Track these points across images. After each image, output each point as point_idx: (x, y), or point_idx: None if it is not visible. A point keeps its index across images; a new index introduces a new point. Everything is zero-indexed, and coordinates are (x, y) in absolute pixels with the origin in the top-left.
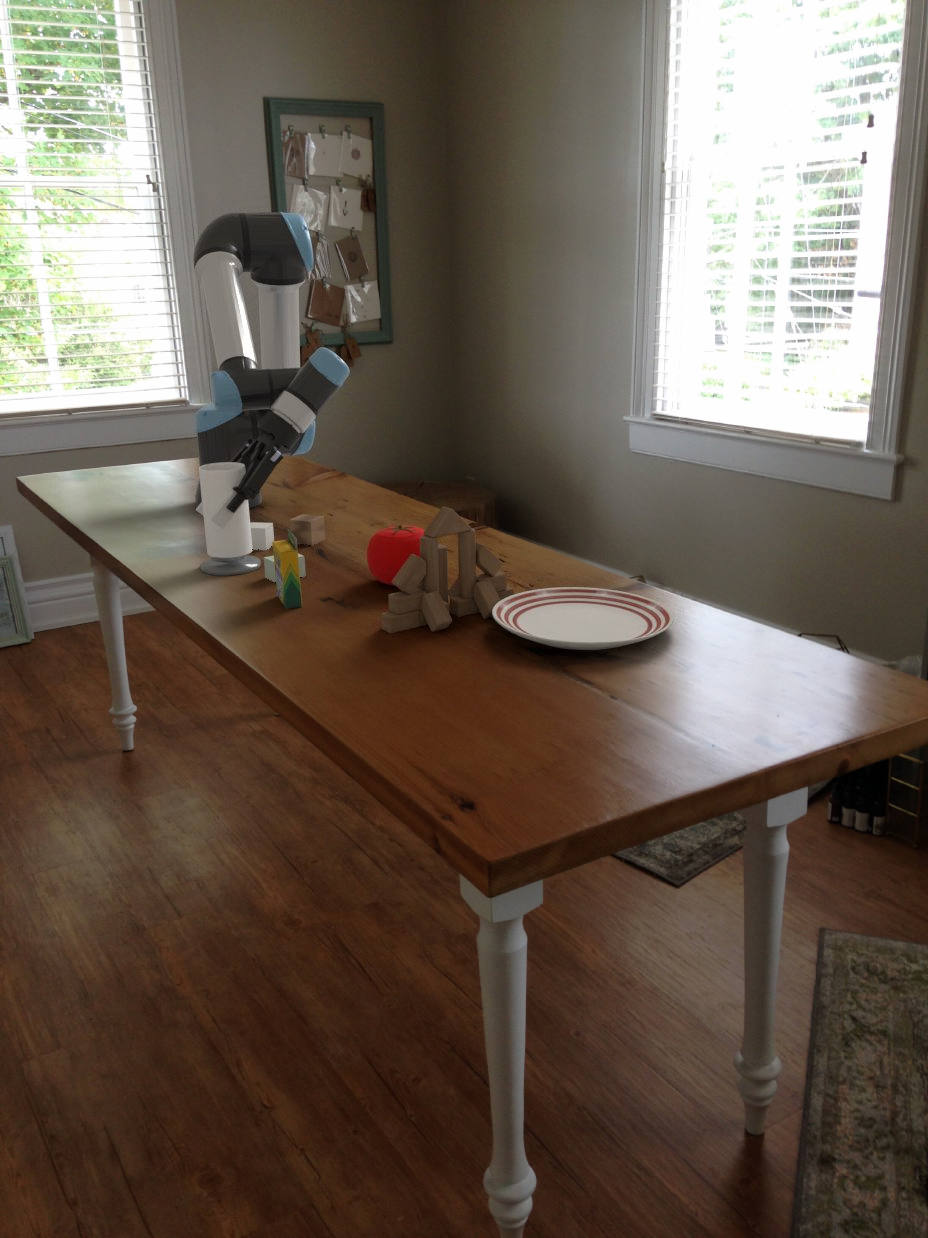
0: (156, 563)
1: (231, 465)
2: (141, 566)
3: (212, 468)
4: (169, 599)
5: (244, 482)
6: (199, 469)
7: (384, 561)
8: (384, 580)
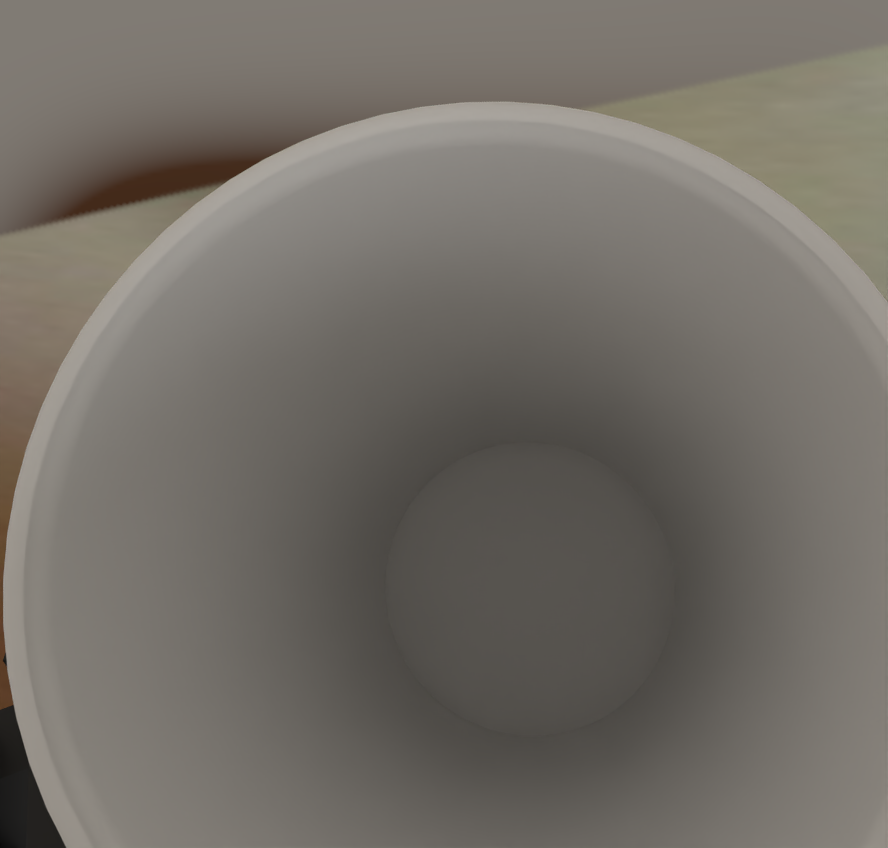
0: (811, 196)
1: (842, 837)
2: (777, 118)
3: (867, 424)
4: (123, 207)
5: (33, 812)
6: (425, 112)
7: None
8: None
